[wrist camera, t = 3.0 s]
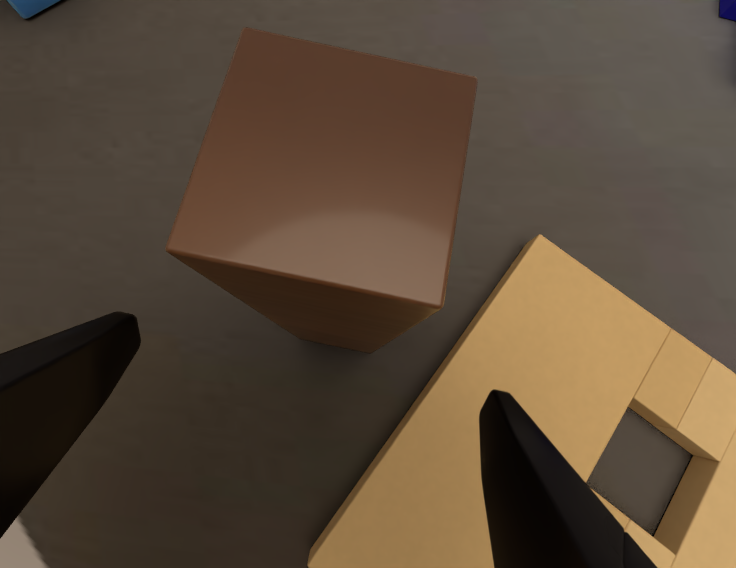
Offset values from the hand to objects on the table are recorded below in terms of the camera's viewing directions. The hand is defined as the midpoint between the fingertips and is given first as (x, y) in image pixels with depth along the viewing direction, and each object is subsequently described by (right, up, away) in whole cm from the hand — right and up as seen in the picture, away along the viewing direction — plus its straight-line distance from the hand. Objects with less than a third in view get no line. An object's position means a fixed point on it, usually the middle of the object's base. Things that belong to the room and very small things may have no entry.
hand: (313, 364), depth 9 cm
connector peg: (0, +1, +11) cm, 11 cm away
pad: (+9, -6, +10) cm, 15 cm away
